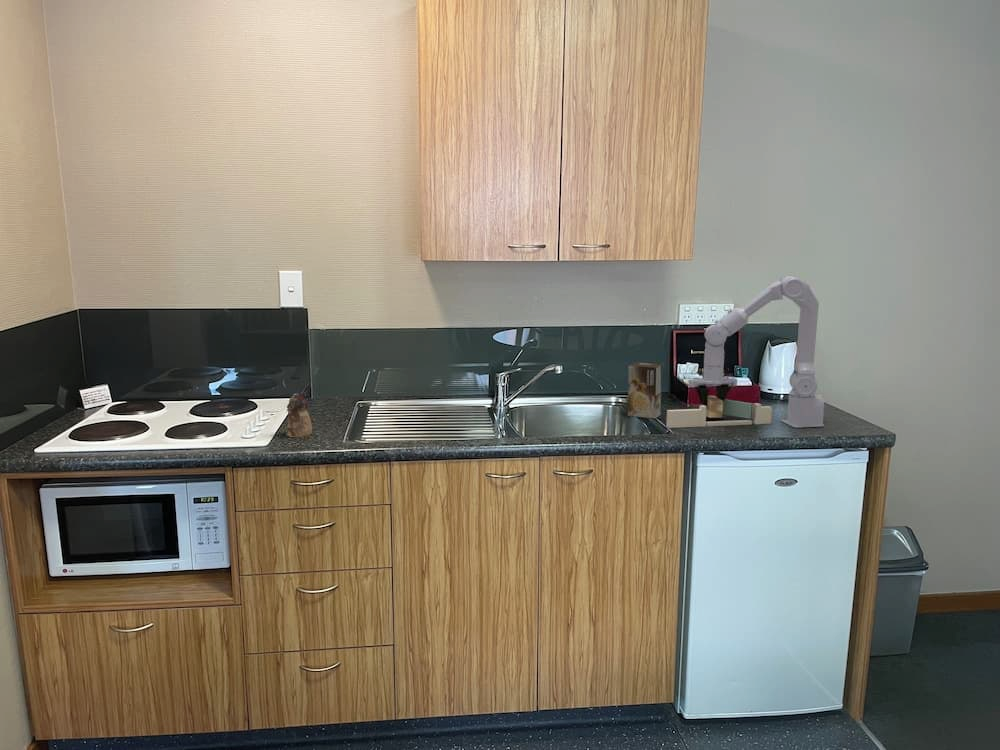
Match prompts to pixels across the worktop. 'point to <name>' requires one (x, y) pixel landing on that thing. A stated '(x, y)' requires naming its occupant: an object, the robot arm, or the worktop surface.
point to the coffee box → (644, 390)
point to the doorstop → (714, 407)
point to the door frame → (699, 420)
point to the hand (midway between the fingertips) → (711, 409)
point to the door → (738, 409)
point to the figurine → (298, 417)
